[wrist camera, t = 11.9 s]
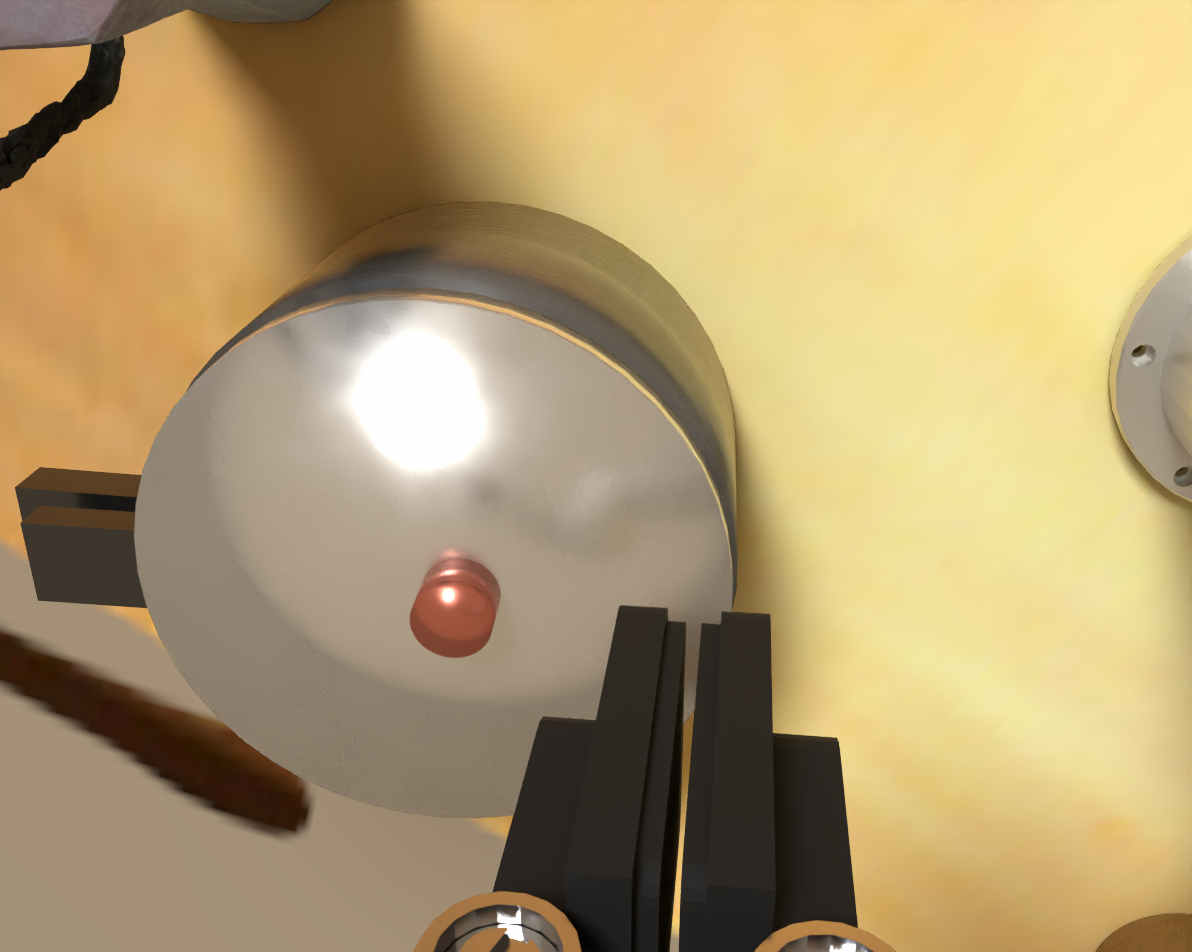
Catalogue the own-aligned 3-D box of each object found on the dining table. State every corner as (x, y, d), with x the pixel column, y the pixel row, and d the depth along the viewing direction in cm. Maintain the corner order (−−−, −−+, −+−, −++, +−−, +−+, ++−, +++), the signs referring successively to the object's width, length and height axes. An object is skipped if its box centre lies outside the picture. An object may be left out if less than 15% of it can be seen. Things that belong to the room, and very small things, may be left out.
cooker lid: (759, 305, 33) (766, 341, 30) (707, 812, 42) (708, 876, 39) (-12, 264, 34) (-74, 294, 31) (96, 765, 43) (55, 824, 40)
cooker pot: (758, 217, 42) (766, 298, 33) (714, 657, 51) (712, 814, 42) (113, 179, 44) (-44, 247, 35) (181, 610, 53) (70, 751, 44)
